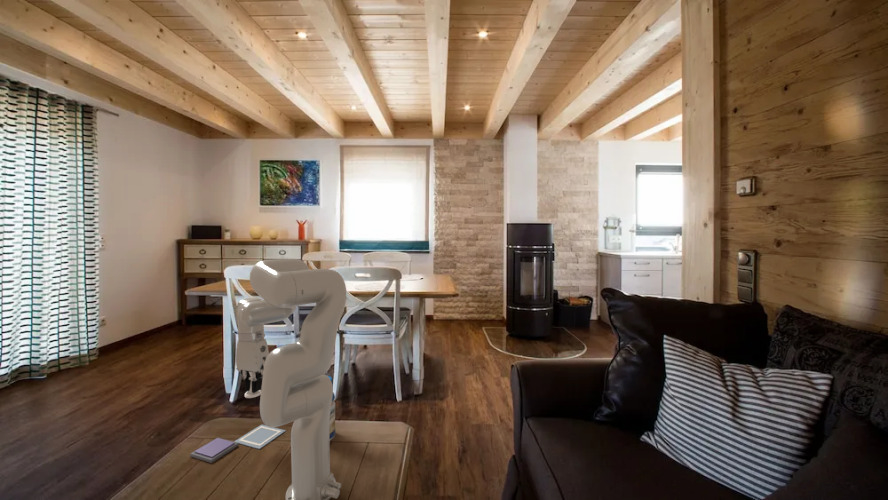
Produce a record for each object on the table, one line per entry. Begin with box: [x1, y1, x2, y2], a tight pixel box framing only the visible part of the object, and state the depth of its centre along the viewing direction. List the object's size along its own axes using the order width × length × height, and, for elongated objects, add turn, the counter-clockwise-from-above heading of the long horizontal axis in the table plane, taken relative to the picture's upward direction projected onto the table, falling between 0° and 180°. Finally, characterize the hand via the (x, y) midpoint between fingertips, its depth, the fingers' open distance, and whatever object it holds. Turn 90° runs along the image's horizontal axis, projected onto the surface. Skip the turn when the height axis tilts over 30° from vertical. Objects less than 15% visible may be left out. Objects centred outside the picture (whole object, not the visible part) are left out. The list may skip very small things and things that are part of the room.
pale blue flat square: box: [233, 424, 287, 450], centre depth 119 cm, size 11×11×1 cm
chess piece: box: [244, 371, 261, 399], centre depth 117 cm, size 5×5×10 cm
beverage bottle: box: [327, 375, 336, 441], centre depth 118 cm, size 8×8×20 cm
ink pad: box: [189, 437, 239, 464], centre depth 111 cm, size 9×9×1 cm
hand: (252, 390), depth 117 cm, fingers closed on chess piece
